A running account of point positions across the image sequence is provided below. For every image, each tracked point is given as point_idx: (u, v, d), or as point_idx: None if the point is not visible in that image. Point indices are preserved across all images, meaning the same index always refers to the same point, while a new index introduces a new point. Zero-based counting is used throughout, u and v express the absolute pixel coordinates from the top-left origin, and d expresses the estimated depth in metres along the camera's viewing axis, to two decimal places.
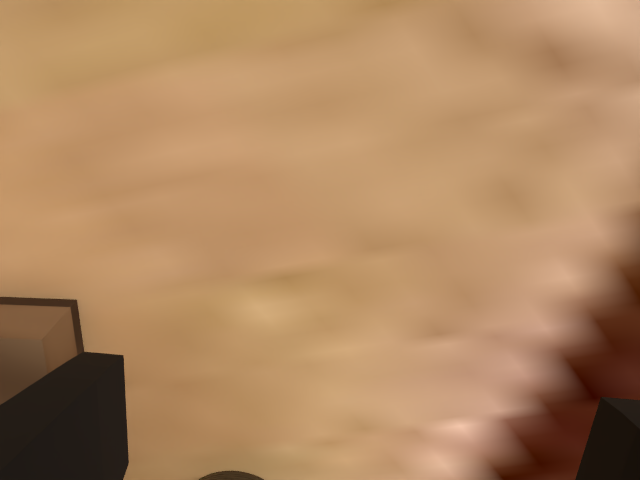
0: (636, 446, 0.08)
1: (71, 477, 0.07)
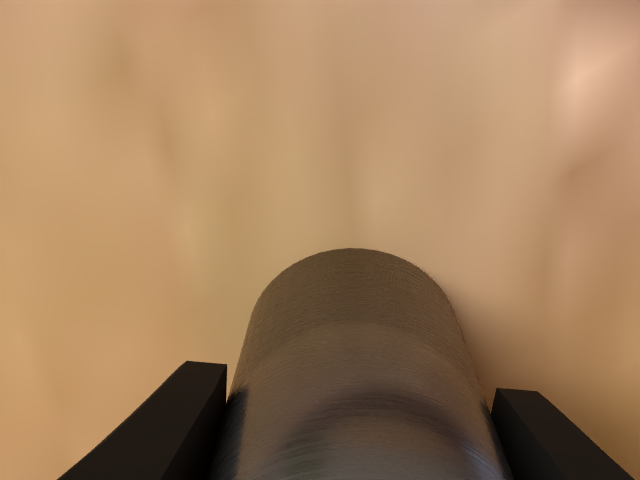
0: (518, 436, 0.08)
1: None
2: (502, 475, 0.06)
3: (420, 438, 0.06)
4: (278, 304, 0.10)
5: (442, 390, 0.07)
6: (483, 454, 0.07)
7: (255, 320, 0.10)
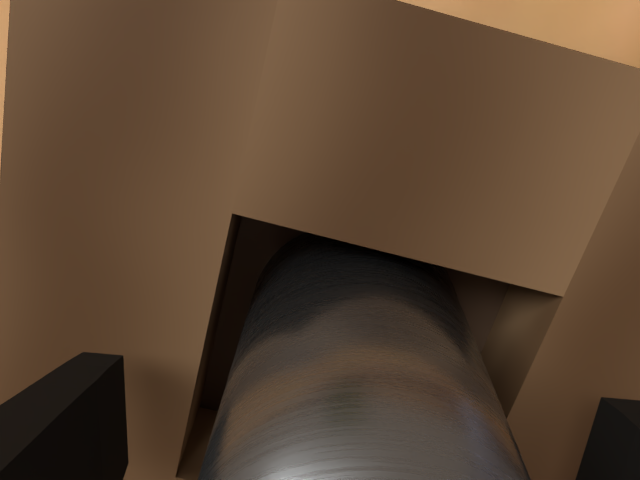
0: (636, 446, 0.08)
1: (71, 477, 0.07)
2: (504, 426, 0.07)
3: (431, 383, 0.06)
4: (288, 267, 0.10)
5: (449, 348, 0.07)
6: (488, 406, 0.07)
7: (264, 282, 0.10)
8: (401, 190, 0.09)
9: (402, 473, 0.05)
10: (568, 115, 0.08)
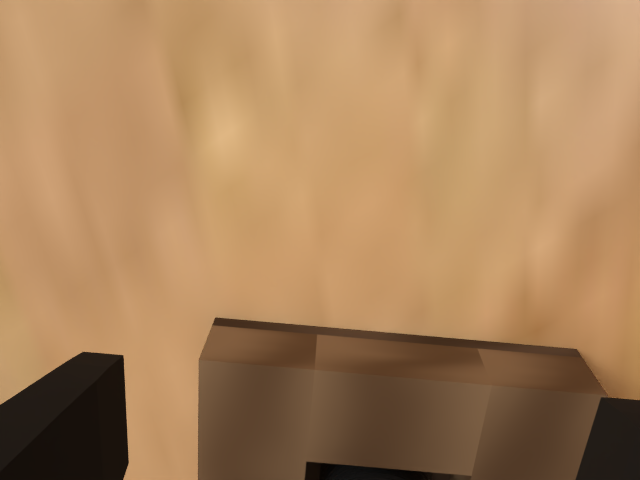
0: (636, 446, 0.08)
1: (71, 477, 0.07)
2: None
3: None
4: (336, 470, 0.20)
5: None
6: None
7: (325, 475, 0.20)
8: (383, 442, 0.18)
9: None
10: (452, 405, 0.18)
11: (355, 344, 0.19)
